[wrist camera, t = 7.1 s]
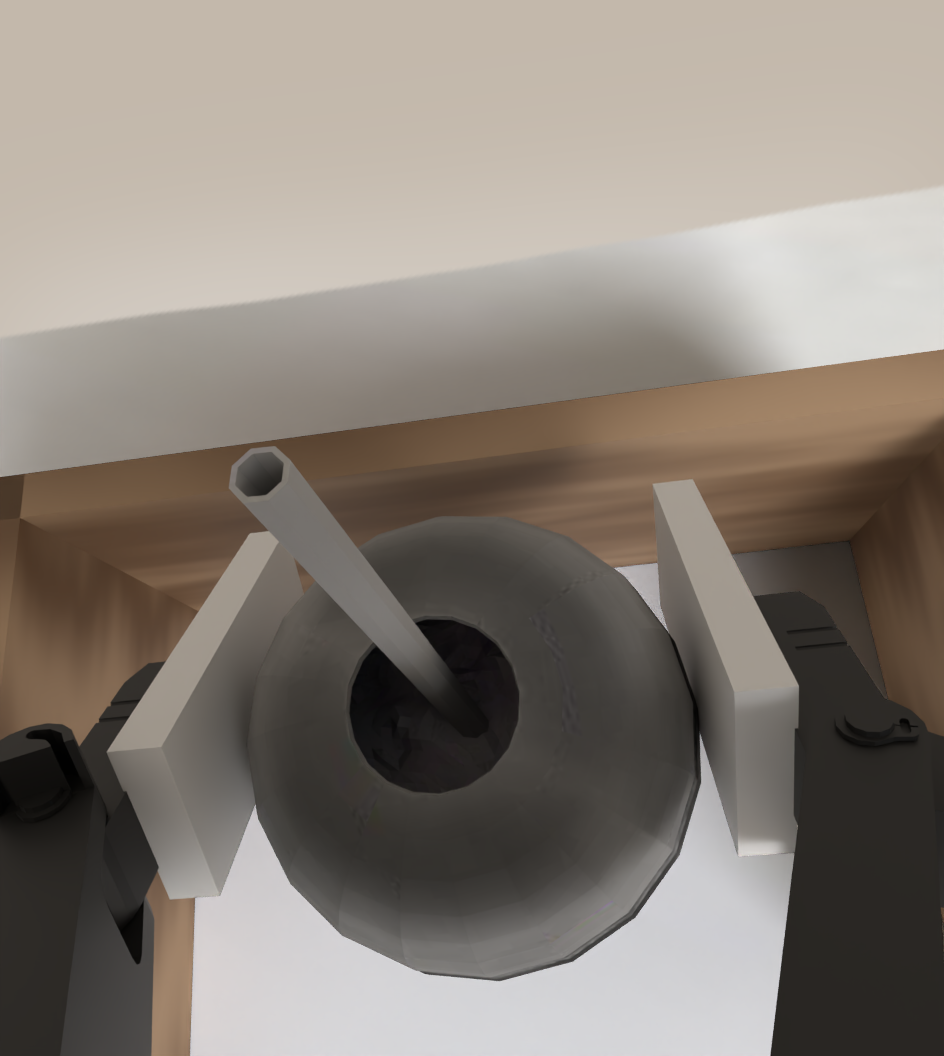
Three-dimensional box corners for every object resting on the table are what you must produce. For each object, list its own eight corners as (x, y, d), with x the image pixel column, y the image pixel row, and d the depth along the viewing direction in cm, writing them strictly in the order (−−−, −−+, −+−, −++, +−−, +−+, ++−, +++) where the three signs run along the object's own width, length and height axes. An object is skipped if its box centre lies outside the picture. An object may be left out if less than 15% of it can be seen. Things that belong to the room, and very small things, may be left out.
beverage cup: (464, 952, 23) (-91, 1508, 4) (372, 709, 26) (-224, 415, 7) (701, 840, 23) (1141, 924, 4) (585, 610, 26) (559, 59, 7)
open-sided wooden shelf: (1036, 1109, 23) (1378, 1333, 13) (149, 1148, 25) (-136, 1359, 15) (877, 503, 29) (1026, 338, 19) (174, 586, 31) (-19, 480, 21)
